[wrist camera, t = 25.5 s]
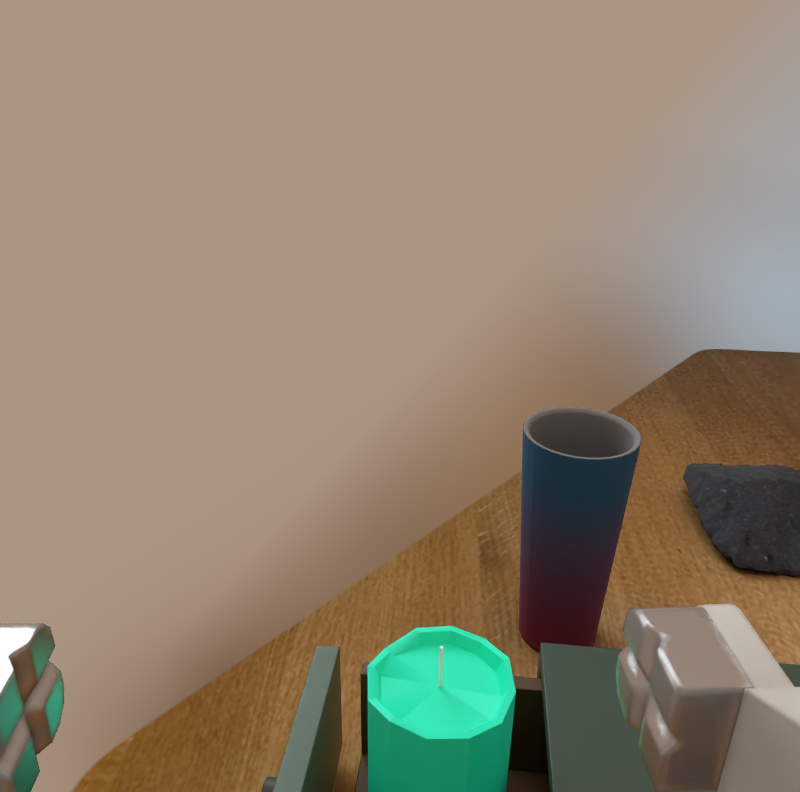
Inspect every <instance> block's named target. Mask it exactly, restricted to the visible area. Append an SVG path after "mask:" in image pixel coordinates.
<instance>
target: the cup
mask: <svg viewBox="0 0 800 792" xmlns="http://www.w3.org/2000/svg"><path fill="white" fill-rule="evenodd" d="M640 445H641V435H640V433H639V432H638V430H637V429H636V428H635V427H634V426H633V425H632V424H630V423H629V422H627V421H626V420H624V419H622V418H620V417H618V416H615V415H613V414H610V413H607V412H603V411H599V410H595V409H589V408H581V407H556V408H550V409H545V410H542V411H538V412H537V413H534V414H532V415H531V416H530V417H528V418H527V420H526V421H525V422H524V425H523V458H522V507H521V556H520V606H519V629H520V633H521V635H522V637H523V638H524V640H525V641H526V642H527V643H528V644H529V645H530V646H531V647H533V648H534V649H536V650H537V651H540V645H541V643H553V644H564V645H575V646H587V647H592V645H593V643H594V640H595V636H596V632H597V628H598V624H599V619H600V615H601V611H602V607H603V602H604V598H605V594H606V590H607V585H608V581H609V577H610V573H611V568H612V564H613V560H614V556H615V551H616V547H617V543H618V538H619V534H620V530H621V526H622V521H623V517H624V513H625V509H626V504H627V500H628V496H629V492H630V487H631V483H632V479H633V475H634V470H635V466H636V462H637V458H638V453H639V449H640Z"/></svg>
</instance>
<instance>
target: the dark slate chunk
mask: <svg viewBox="0 0 800 792" xmlns="http://www.w3.org/2000/svg"><path fill="white" fill-rule="evenodd" d="M683 479H684V481H685V483H686V485H687V488H688V490H689V497H690V498H691V499H692V502H693V503H694V504H695V506H696V508H697V509H698V512H699V516H700V520H701V523H702V525H703V527H704V528H705V529H706V530H707V533H708V534H709V536H710V537H711V538H712V540H713V543H714V545H715V547H716V548H717V549H718V550H720V551H721V553H722V554H723V555H724V556H725V557H726V558H728V559H729V560H731V561H732V562H733V563H734V565H735V566H737V567H740V568H749V569H753V570H759V571H765V572H769V573H774V574H776V575H781V574H787V575H791V576H800V470H794V469H793V468H792V467H786V466H778V465H765V466H761V465H759V466H752V465H738V466H723V465H722V464H708V463H703V464H696V463H694V464H690V465H688V466H687V468H686V471H685V474H684V476H683Z"/></svg>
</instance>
